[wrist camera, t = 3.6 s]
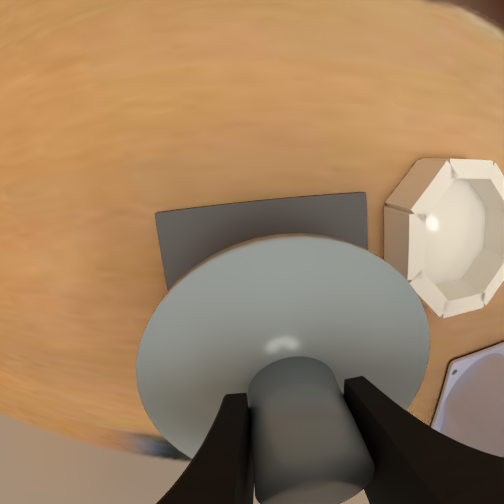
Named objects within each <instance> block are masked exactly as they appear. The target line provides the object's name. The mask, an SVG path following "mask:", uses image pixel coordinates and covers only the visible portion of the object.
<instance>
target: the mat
mask: <svg viewBox="0 0 504 504" xmlns="http://www.w3.org/2000/svg"><path fill="white" fill-rule="evenodd" d="M155 218H156V225H157V232H158V238H159V244H160V250H161V256H162V262H163V267H164V273H165V278H166V284H167V289H168V291H169V289H170V288H171V287H172V286H173V285H174V284H175V283H176V281H177V280H179V279H180V278H181V277H182V276H183V275H184V274H186V273H187V272H188V271H189V270H190V269H191V268H193V267H194V266H196V265H197V264H199V263H200V262H202V261H203V260H205V259H207V258H208V257H210V256H211V255H213V254H215V253H217V252H220V251H222V250H224V249H226V248H228V247H230V246H232V245H235V244H239V243H242V242H245V241H248V240H251V239H254V238H259V237H265V236H271V235H276V234H292V233H306V234H317V235H325V236H330V237H334V238H338V239H342V240H346V241H348V242H351V243H353V244H356V245H358V246H361V247H363V248H365V249H366V250H368V239H367V203H366V193H365V192H356V193H340V194H327V195H314V196H301V197H290V198H279V199H268V200H258V201H248V202H238V203H229V204H220V205H212V206H203V207H195V208H187V209H179V210H171V211H164V212H157V213H155Z"/></svg>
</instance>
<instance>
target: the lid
mask: <svg viewBox="0 0 504 504" xmlns="http://www.w3.org/2000/svg"><path fill="white" fill-rule="evenodd" d="M429 351H430V332H429V326H428V320H427V316H426V313H425V311H424V308H423V305H422V303H421V301H420V299H419V297H418V295H417V294H416V292H415V290H414V289H413V287H412V286H411V285H410V284H409V282H408V281H407V280H406V279H405V278H404V276H403V275H401V274H400V273H399V272H398V271H397V270H396V269H394V268H393V267H392V266H391V265H390V264H388V263H387V262H385V261H384V260H383V259H381V258H380V257H378V256H376V255H375V254H373V253H371V252H370V251H368V250H366V249H365V248H363V247H361V246H358V245H356V244H353V243H351V242H348V241H346V240H342V239H338V238H334V237H330V236H325V235H317V234H306V233H292V234H276V235H271V236H265V237H259V238H254V239H251V240H248V241H245V242H242V243H239V244H235V245H232V246H230V247H228V248H226V249H224V250H222V251H220V252H217V253H215V254H213V255H211V256H210V257H208V258H207V259H205V260H203V261H202V262H200V263H199V264H197V265H196V266H194V267H193V268H191V269H190V270H189V271H188V272H187V273H186V274H184V275H183V276H182V277H181V278H180V279H179V280H177V281H176V283H175V284H174V285H173V286H172V287H171V288H170V289H169V291H168V292H167V293H166V294H165V295H164V296H163V298H162V300H161V301H160V303H159V304H158V306H157V307H156V309H155V311H154V312H153V314H152V316H151V318H150V320H149V322H148V324H147V326H146V329H145V331H144V334H143V336H142V338H141V341H140V345H139V350H138V354H137V362H136V378H137V386H138V391H139V395H140V398H141V401H142V404H143V406H144V408H145V411H146V413H147V415H148V417H149V418H150V420H151V421H152V423H153V424H154V426H155V427H156V428H157V430H158V431H159V432H160V433H161V434H162V435H163V436H164V437H165V438H166V440H167V441H169V442H170V443H171V444H172V445H173V446H175V447H176V448H177V449H178V450H180V451H181V452H183V453H184V454H186V455H187V456H189V457H190V458H192V459H193V457H194V456H195V454H196V453H197V451H198V450H199V448H200V446H201V445H202V443H203V441H204V439H205V438H206V436H207V434H208V432H209V430H210V428H211V426H212V424H213V422H214V420H215V418H216V416H217V413H218V411H219V408H220V406H221V403H222V400H223V397H224V396H225V395H226V394H235V393H247V400H248V407H249V422H250V436H251V449H252V462H253V474H254V487H255V496H256V499H257V500H258V502H259V503H260V504H340V503H342V502H345V501H347V500H348V499H350V498H352V497H353V496H355V495H356V494H358V493H359V492H360V491H361V490H363V489H364V488H365V487H366V486H367V485H368V483H369V482H370V481H371V479H372V478H373V475H374V472H375V465H374V463H373V460H372V458H371V456H370V454H369V451H368V449H367V447H366V444H365V442H364V440H363V438H362V435H361V433H360V431H359V429H358V426H357V424H356V422H355V420H354V418H353V415H352V413H351V411H350V409H349V406H348V404H347V402H346V400H345V398H344V395H343V393H344V379H349V378H354V377H359V376H364V377H365V378H366V379H367V380H369V381H370V382H371V383H372V384H373V385H375V386H376V387H377V388H378V389H379V390H381V391H382V392H383V393H384V394H385V395H387V396H388V397H389V398H390V399H392V400H393V401H394V402H395V403H397V404H398V405H399V406H401V407H402V408H403V409H405V410H407V408H408V407H409V405H410V404H411V402H412V401H413V399H414V397H415V395H416V394H417V392H418V390H419V387H420V385H421V383H422V380H423V378H424V375H425V371H426V368H427V364H428V358H429Z"/></svg>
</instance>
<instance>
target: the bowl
mask: <svg viewBox="0 0 504 504" xmlns="http://www.w3.org/2000/svg"><path fill="white" fill-rule="evenodd" d="M385 203H386V204H387V205H388V206H384V261H385V262H387V263H388V264H390V265H391V266H392V267H393V268H394V269H396V270H397V271H398V272H399V273H400V274H401V275H403V276H404V278H405V279H406V280H407V281H408V282H409V284H410V285H411V286H412V287H413V289H414V290H415V292H416V294H417V295H418V297H419V299H420V301H421V302H422V303H423V304H424V305H425V306H426V307H428V308H429V309H430V310H431V311H432V312H434V313H435V314H436V315H437V316H438V317H442V318H446V317H450V316H454V315H458V314H462V313H466V312H469V311H473V310H477V309H480V308H483V306H484V305H487V303H488V302H489V301H490V299H491V298H492V296H493V295H494V294H495V292H496V291H497V289H498V288H499V286H500V285H501V284H502V282H503V281H504V176H503V174H502V173H501V171H500V169H499V168H498V166H497V164H496V163H494V162H493V161H489V160H472V159H446V158H421V160H417V161H416V163H415V164H414V165H413V167H412V168H411V169H410V170H409V172H408V173H407V174H406V176H405V177H404V178H403V180H402V181H401V182H400V183H399V185H398V186H397V187H396V189H395V190H394V191H393V192H392V194H391V195H390V196H389V197H388V199H387V200H386V201H385Z"/></svg>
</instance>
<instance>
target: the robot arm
mask: <svg viewBox="0 0 504 504" xmlns="http://www.w3.org/2000/svg"><path fill="white" fill-rule="evenodd" d="M343 395H344V398H345V400H346V402H347V404H348V406H349V409H350V411H351V413H352V415H353V418H354V420H355V422H356V424H357V426H358V429H359V431H360V433H361V435H362V438H363V440H364V442H365V444H366V447H367V449H368V451H369V454H370V456H371V458H372V460H373V463H374V465H375V472H374V475H373V478H372V479H371V481H370V482H369V483H368V485H367V486H366V487H365V488H364V490H365V493H366V495H367V498H368V500H369V503H370V504H504V342H502V343H499V344H497V345H494V346H492V347H489V348H486V349H484V350H481V351H478V352H475V353H473V354H470V355H467V356H464V357H461V358H458V359H455V360H453V361H452V362H451V363H450V365H449V367H448V371H447V375H446V379H445V383H444V386H443V390H442V393H441V397H440V400H439V403H438V407H437V410H436V413H435V416H434V419H433V422H432V425H431V427H430V426H428V425H427V424H425V423H423V422H422V421H420V420H419V419H417V418H416V417H414V416H413V415H411V414H410V413H409V412H407V411H406V410H405V409H403V408H402V407H401V406H399V405H398V404H397V403H395V402H394V401H393V400H392V399H390V398H389V397H388V396H387V395H385V394H384V393H383V392H382V391H381V390H379V389H378V388H377V387H376V386H375V385H373V384H372V383H371V382H370V381H369V380H367V379H366V378H365V377H364V376H359V377H354V378H349V379H344V393H343ZM253 492H254V474H253V462H252V449H251V436H250V422H249V407H248V400H247V393H235V394H226V395H225V396H224V397H223V400H222V403H221V406H220V408H219V411H218V413H217V416H216V418H215V420H214V422H213V424H212V426H211V428H210V430H209V432H208V434H207V436H206V438H205V439H204V441H203V443H202V445H201V446H200V448H199V450H198V451H197V453H196V454H195V456H194V457H193V459H192V461H191V462H190V464H189V465H188V467H187V468H186V469H185V471H184V472H183V474H182V475H181V476H180V477H179V479H178V480H177V481H176V482H175V484H174V485H173V486H172V487H171V488H170V490H169V491H168V492H167V493H166V494H165V495H164V496H163V497H162V498H161V499H160V500H159V501H158V502H157V503H156V504H253Z"/></svg>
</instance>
